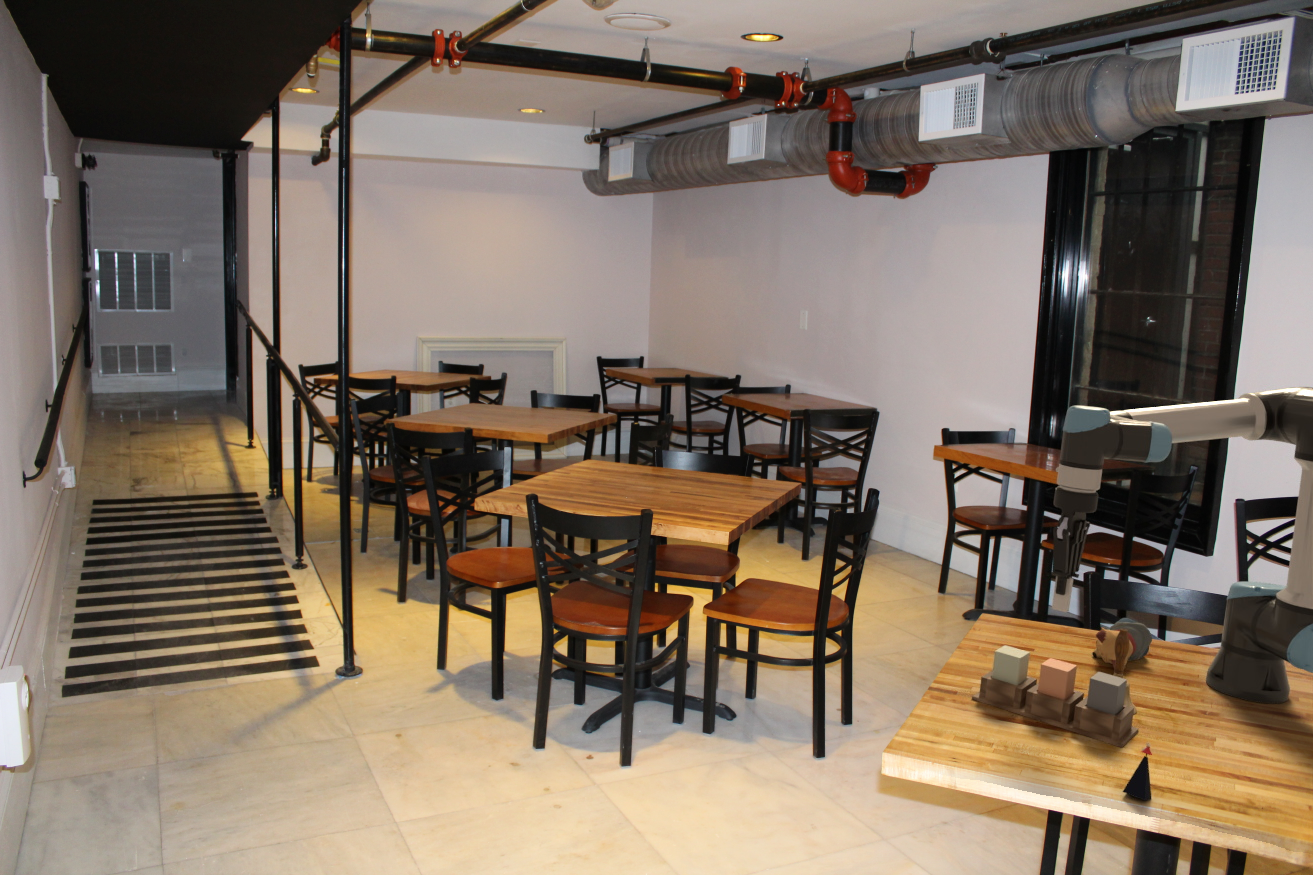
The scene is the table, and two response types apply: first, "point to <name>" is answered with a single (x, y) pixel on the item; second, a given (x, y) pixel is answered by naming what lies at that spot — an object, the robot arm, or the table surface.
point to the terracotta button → (1057, 678)
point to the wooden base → (1058, 710)
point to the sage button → (1010, 665)
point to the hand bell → (1121, 654)
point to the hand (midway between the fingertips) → (1060, 609)
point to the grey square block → (1106, 693)
